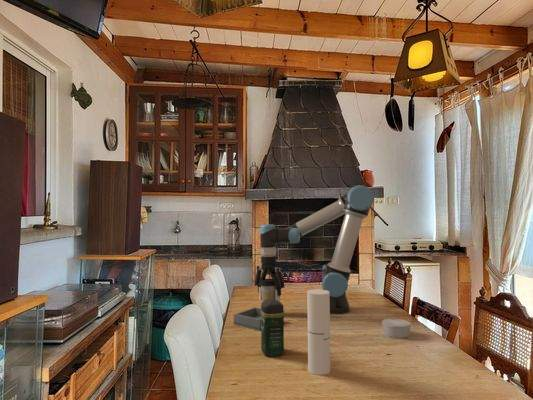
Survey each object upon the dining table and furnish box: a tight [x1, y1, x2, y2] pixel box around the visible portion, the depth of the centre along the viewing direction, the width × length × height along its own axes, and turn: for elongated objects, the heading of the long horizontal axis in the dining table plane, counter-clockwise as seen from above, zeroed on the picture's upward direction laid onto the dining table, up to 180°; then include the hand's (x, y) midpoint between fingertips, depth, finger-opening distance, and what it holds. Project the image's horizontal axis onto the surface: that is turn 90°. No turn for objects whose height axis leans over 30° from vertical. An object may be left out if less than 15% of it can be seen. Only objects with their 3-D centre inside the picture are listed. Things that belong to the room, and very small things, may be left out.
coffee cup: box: [260, 278, 277, 302], centre depth 181 cm, size 9×9×15 cm
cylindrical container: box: [306, 289, 331, 376], centre depth 118 cm, size 7×7×25 cm
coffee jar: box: [260, 299, 285, 357], centre depth 133 cm, size 10×8×19 cm
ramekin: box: [381, 317, 412, 339], centre depth 150 cm, size 11×11×5 cm
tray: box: [233, 306, 261, 332], centre depth 167 cm, size 15×15×4 cm
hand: (269, 301), depth 180 cm, fingers closed on coffee cup, 9 cm apart
